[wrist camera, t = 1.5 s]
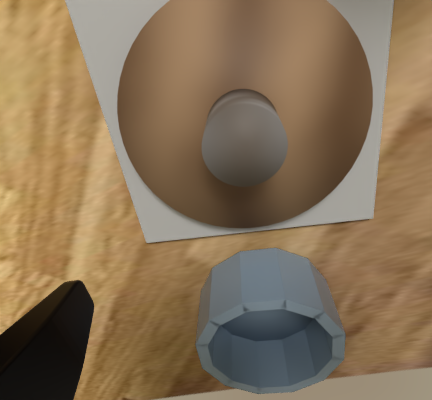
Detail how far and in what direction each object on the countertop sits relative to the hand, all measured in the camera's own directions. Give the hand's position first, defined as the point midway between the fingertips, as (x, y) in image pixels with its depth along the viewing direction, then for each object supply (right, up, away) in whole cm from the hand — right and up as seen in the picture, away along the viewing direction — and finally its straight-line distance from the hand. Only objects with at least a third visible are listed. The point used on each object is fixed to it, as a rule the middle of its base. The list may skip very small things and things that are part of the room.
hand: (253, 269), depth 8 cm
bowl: (+3, -6, +18) cm, 20 cm away
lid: (+1, +6, +11) cm, 13 cm away
